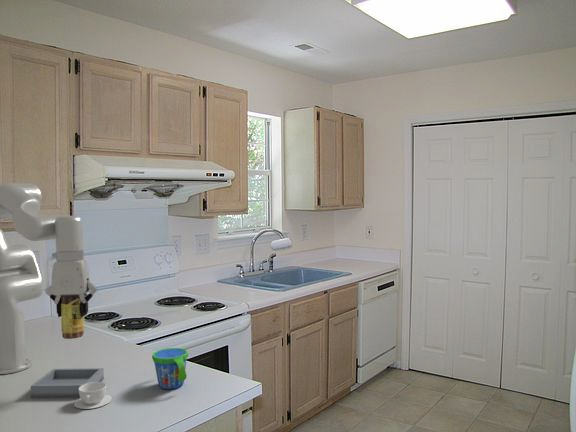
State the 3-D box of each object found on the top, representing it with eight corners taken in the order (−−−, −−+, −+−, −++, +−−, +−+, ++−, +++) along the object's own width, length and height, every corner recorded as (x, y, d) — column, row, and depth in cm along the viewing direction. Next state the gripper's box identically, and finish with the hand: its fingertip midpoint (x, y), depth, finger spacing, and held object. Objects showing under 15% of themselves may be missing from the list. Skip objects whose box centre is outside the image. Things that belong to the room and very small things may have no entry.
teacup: (80, 396, 146) (80, 380, 146) (115, 394, 147) (115, 379, 147) (68, 411, 136) (68, 394, 136) (106, 409, 137) (105, 393, 137)
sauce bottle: (75, 340, 147) (73, 273, 147) (57, 339, 149) (54, 273, 148) (89, 334, 154) (86, 270, 153) (71, 333, 155) (68, 270, 154)
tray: (31, 397, 145) (30, 386, 145) (53, 379, 159) (53, 368, 159) (86, 397, 145) (85, 385, 145) (103, 378, 159) (103, 368, 159)
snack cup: (146, 381, 157) (145, 349, 156) (178, 374, 163) (177, 343, 162) (163, 398, 144) (162, 363, 143) (197, 389, 150) (196, 356, 149)
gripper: (35, 259, 147) (38, 319, 147) (93, 257, 146) (96, 318, 147) (47, 255, 154) (50, 313, 155) (103, 254, 154) (105, 312, 155)
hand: (72, 315), depth 151 cm, fingers closed on sauce bottle, 6 cm apart
